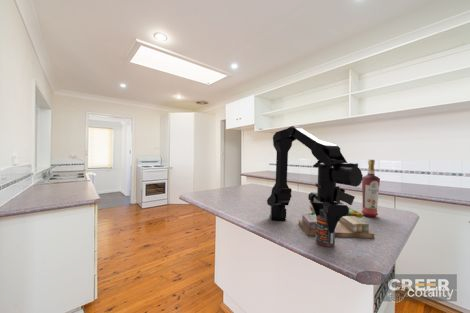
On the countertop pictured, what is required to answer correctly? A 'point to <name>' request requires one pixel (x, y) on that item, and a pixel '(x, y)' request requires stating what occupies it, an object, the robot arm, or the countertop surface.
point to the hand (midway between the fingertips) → (325, 227)
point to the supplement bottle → (323, 231)
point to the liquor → (370, 191)
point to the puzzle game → (351, 213)
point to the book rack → (339, 227)
